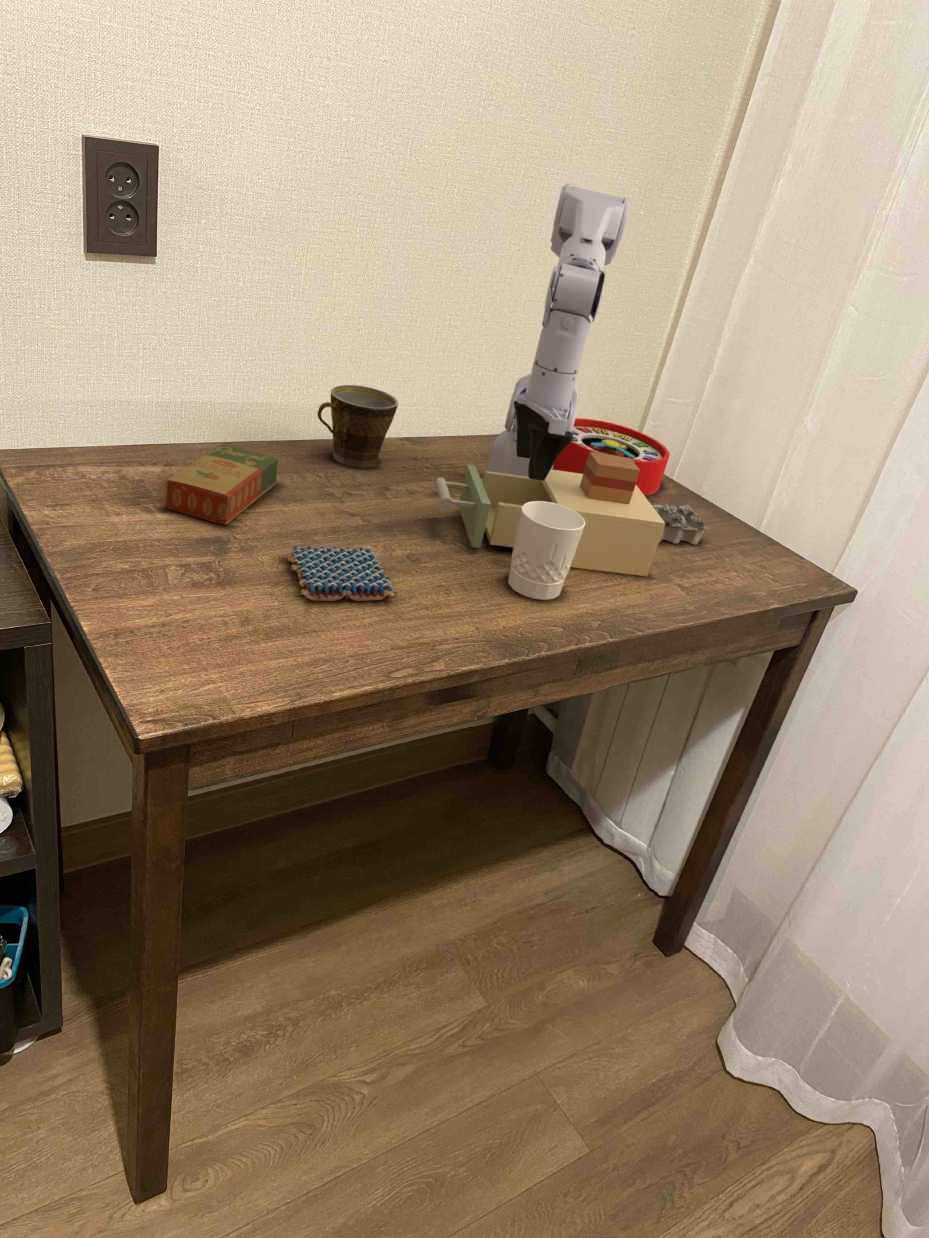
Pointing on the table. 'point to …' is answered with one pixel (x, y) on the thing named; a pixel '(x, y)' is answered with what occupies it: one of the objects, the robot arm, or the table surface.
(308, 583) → the woven mat
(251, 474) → the carton
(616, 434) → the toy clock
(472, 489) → the drawer
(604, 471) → the packet
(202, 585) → the table surface
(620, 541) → the shallow tan box
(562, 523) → the white cup
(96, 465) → the table surface
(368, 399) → the ceramic cup
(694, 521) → the egg carton
